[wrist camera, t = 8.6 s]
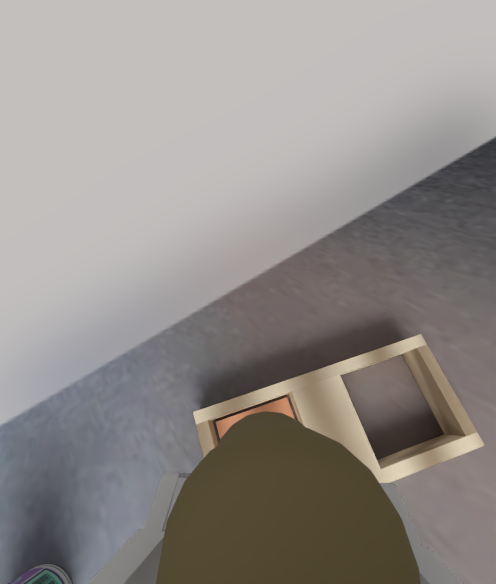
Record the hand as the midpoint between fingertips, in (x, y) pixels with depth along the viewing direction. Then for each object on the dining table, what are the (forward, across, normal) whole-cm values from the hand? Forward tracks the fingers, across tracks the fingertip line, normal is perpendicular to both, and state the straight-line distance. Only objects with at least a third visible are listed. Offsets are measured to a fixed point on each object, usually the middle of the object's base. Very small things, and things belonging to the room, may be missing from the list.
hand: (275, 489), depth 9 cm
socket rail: (+14, -6, +12) cm, 20 cm away
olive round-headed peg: (+4, 0, +5) cm, 6 cm away
